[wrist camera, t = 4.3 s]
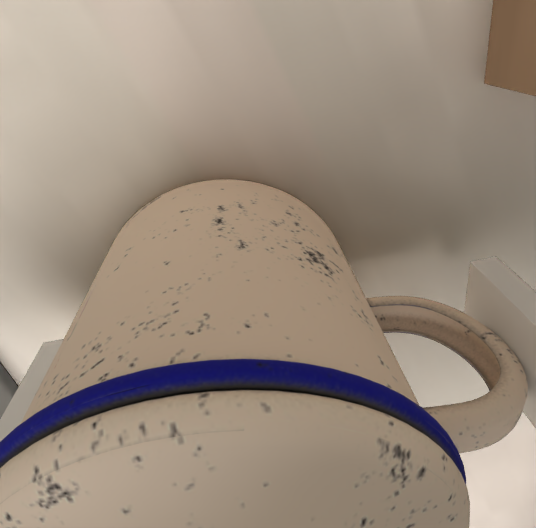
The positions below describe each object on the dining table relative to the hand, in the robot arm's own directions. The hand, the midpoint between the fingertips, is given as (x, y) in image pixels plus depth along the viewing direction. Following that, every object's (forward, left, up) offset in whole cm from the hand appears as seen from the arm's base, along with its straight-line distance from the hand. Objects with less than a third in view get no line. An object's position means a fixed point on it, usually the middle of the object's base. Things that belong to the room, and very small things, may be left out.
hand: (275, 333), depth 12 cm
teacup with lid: (0, 0, -3) cm, 3 cm away
